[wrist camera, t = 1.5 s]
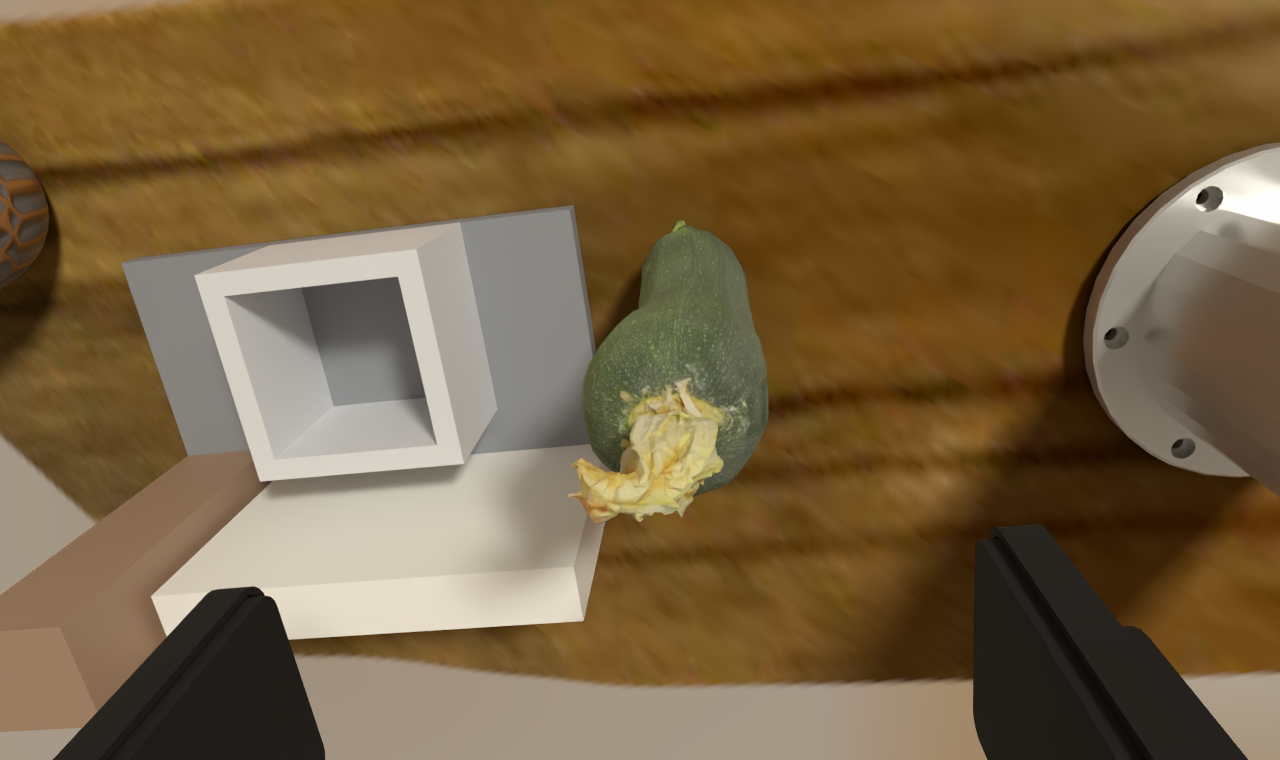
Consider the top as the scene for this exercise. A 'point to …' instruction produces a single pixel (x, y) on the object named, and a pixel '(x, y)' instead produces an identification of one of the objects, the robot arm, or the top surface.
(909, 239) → the top surface
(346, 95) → the top surface
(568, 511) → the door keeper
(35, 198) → the vase
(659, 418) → the vegetable
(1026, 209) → the top surface
